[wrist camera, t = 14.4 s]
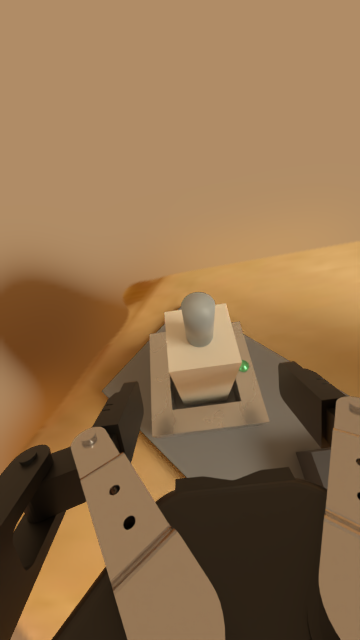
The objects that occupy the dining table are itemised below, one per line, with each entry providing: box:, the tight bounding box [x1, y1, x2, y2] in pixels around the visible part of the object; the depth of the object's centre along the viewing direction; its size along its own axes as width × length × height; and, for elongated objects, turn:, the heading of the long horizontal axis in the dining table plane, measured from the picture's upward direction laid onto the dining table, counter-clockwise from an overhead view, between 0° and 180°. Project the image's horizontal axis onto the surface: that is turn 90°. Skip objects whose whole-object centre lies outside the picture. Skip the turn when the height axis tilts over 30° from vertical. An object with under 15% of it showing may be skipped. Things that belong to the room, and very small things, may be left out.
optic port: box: [149, 321, 270, 438], centre depth 20 cm, size 9×9×3 cm
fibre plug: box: [164, 292, 242, 406], centre depth 15 cm, size 4×4×13 cm
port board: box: [102, 307, 350, 480], centre depth 19 cm, size 14×28×2 cm, turn 51°
